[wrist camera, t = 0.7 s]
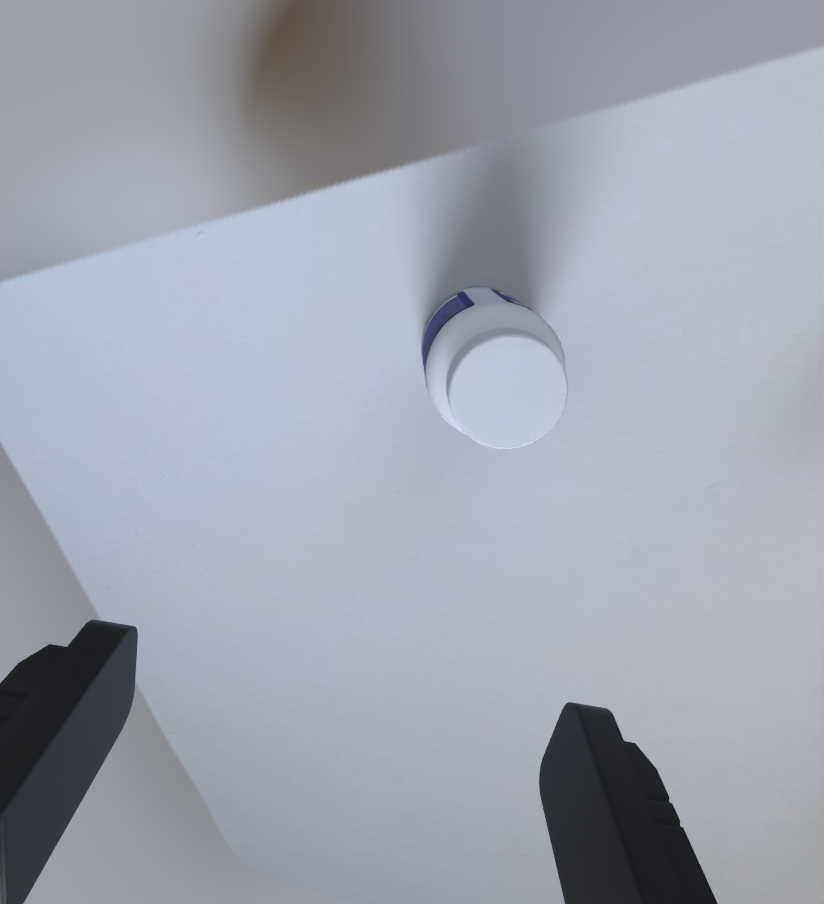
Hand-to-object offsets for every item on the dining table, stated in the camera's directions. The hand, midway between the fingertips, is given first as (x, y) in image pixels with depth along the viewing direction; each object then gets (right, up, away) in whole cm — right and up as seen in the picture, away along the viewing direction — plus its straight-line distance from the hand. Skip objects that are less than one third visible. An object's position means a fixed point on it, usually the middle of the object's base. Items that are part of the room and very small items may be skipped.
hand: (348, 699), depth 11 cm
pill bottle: (+4, +10, +17) cm, 20 cm away
